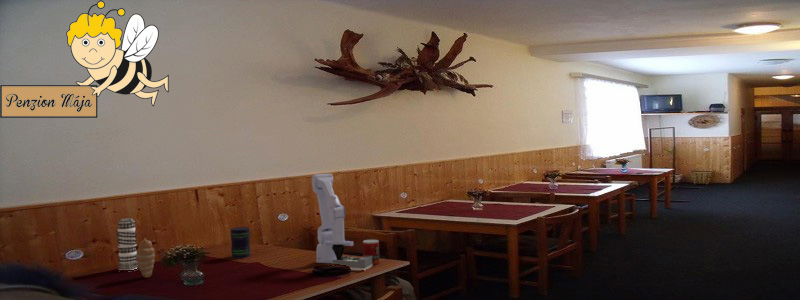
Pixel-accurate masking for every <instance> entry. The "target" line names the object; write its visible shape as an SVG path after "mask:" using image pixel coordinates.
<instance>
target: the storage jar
mask: <svg viewBox="0 0 800 300" xmlns="http://www.w3.org/2000/svg"><path fill="white" fill-rule="evenodd" d="M250 239H251V232H250V227H248V226H241V227H239V226H238V227H232V228H230V240H231V241H230V242H231V247H230V249H231V251H230V253H231V258H232V259H236V258H237V259H246V258H250V257H251V244H250Z"/></svg>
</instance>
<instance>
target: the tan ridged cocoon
mask: <svg viewBox="0 0 800 300" xmlns="http://www.w3.org/2000/svg"><path fill="white" fill-rule="evenodd" d="M155 253H156V251H155V248H154V247H153V243H152V241H151V240H149V239H147V238H146V237H144V238H143V240H141V241H140V242H139V245H138V249H136V254H137V257H136V258H137V260H136V261H137V262H138V263H137V265H138V266H137V267H138V270H139V271H140V272H141V275H142V277H143V278H145V279H146V278H147V279H148V278H150V277H151V276H152V275H153V269H154V267H155V266H154V264H155V258H156V254H155Z"/></svg>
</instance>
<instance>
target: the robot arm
mask: <svg viewBox="0 0 800 300" xmlns="http://www.w3.org/2000/svg"><path fill="white" fill-rule="evenodd" d="M333 184H334V176H333V174H332V173H320V174H319V173H315V174H312V176H311V187H312V191H313V192H314V193H315V194H316V197H317V202H318V203H317V204H318V208H319V209H318V210H319V214H320V219H321V226H319V227H318V229H317V240H318V244H317V245H316V261H315V263H321V264H333V262H332V260H341V257H343V254H344V251H345V248H346V246H347V247H353V246H354V241H353V240H352V241H351V240H346V239H345V218H346V216H347V215H346V214H347V213H346V207H345V206H344V205H342V204H341V201H340V199H339V196H338V195H337V194H335V191H334V189H333Z"/></svg>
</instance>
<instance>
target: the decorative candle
mask: <svg viewBox="0 0 800 300" xmlns="http://www.w3.org/2000/svg"><path fill="white" fill-rule="evenodd" d="M135 223H136V221H135V220H134V219H133V218H132V217H127V218H121V219H119V220H118V222H117V230H116V236H117V237H116V240H117V241H116V243H117V248H118V257H117V258H118V259H117V260H118V271H119V270H134V269H137V268H138V267H139V266H138V260H137V245H138V242H137V241H138V240H137V239H136V238H138V236H137V234H138V232H137V231H136V224H135ZM137 270H138V269H137ZM134 271H135V270H134Z"/></svg>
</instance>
